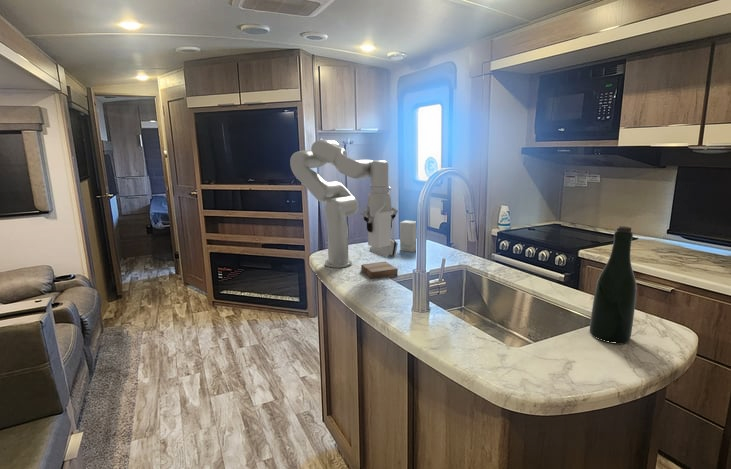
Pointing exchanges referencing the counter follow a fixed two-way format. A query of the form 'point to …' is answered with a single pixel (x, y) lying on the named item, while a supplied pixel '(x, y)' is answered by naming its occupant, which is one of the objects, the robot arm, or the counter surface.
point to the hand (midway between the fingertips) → (379, 230)
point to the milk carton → (380, 229)
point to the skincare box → (408, 236)
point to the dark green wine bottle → (615, 293)
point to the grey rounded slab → (386, 249)
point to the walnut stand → (379, 270)
